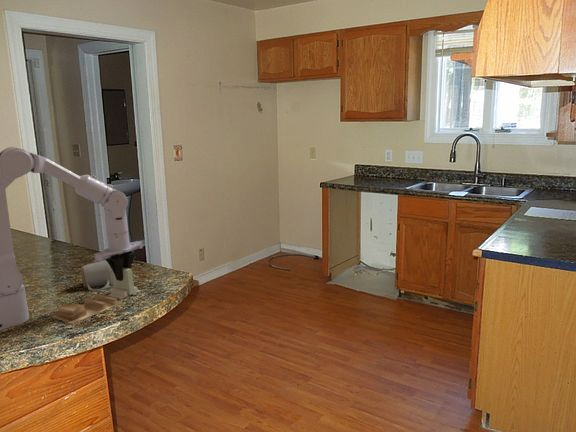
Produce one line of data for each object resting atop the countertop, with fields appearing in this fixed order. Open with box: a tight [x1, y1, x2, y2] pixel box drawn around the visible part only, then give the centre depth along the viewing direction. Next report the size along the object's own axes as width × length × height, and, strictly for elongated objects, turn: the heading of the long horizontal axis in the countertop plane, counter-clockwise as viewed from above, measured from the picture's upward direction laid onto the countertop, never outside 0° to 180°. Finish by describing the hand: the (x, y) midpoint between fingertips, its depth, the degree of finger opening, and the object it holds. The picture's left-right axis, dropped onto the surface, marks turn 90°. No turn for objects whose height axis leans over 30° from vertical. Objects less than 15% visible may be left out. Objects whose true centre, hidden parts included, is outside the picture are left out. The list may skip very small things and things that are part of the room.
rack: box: [50, 293, 123, 325], centre depth 123 cm, size 15×9×2 cm, turn 148°
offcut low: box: [56, 310, 87, 321], centre depth 119 cm, size 4×6×1 cm, turn 58°
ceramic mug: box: [80, 259, 113, 292], centre depth 140 cm, size 11×8×8 cm
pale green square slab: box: [110, 267, 136, 296], centre depth 133 cm, size 2×7×7 cm, turn 58°
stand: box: [107, 285, 142, 300], centre depth 134 cm, size 7×6×2 cm
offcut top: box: [57, 302, 84, 315], centre depth 119 cm, size 4×5×1 cm
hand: (122, 278), depth 133 cm, fingers closed on pale green square slab, 2 cm apart
